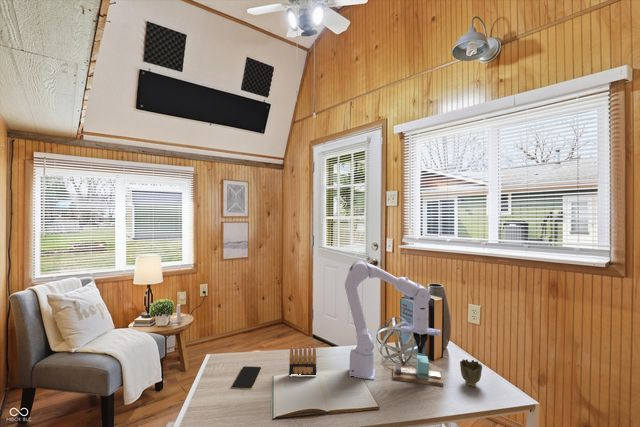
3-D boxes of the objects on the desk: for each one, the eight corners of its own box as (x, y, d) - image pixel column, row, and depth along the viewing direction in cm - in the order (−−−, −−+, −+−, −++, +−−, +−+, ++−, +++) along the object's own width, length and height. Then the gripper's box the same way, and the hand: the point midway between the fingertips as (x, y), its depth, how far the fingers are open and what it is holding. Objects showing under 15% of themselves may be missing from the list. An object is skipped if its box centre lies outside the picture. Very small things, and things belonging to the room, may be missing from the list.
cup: (460, 388, 114) (460, 366, 114) (459, 378, 121) (459, 357, 121) (483, 392, 111) (483, 370, 111) (480, 382, 118) (480, 360, 118)
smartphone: (231, 386, 112) (243, 366, 127) (231, 389, 112) (243, 368, 127) (251, 387, 112) (261, 366, 127) (251, 390, 112) (261, 369, 127)
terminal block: (417, 378, 118) (417, 362, 118) (416, 370, 124) (416, 355, 124) (428, 380, 117) (429, 364, 117) (427, 371, 123) (427, 356, 123)
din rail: (394, 373, 121) (394, 369, 121) (394, 367, 126) (394, 363, 126) (441, 379, 117) (441, 375, 117) (439, 373, 122) (439, 368, 122)
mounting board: (393, 379, 120) (393, 376, 120) (393, 368, 128) (393, 365, 128) (443, 386, 115) (443, 382, 115) (440, 374, 124) (440, 371, 124)
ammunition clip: (288, 377, 121) (289, 346, 121) (289, 374, 122) (289, 344, 122) (316, 377, 121) (316, 346, 121) (316, 374, 123) (316, 344, 123)
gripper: (401, 318, 120) (400, 354, 120) (441, 322, 116) (441, 359, 116) (401, 313, 127) (400, 346, 127) (439, 316, 123) (438, 351, 123)
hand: (420, 352), depth 122 cm, fingers closed
